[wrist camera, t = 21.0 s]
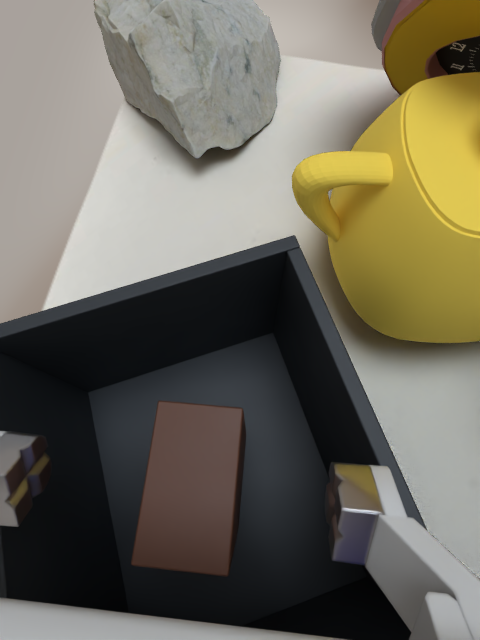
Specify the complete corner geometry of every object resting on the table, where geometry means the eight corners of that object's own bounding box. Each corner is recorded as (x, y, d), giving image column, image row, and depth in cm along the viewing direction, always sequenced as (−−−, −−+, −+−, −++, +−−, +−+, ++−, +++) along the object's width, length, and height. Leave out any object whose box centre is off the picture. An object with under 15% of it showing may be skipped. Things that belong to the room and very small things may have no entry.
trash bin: (378, 582, 20) (499, 689, 10) (133, 678, 19) (8, 902, 9) (278, 324, 26) (295, 234, 16) (81, 388, 24) (-35, 333, 15)
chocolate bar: (246, 433, 23) (243, 407, 13) (238, 528, 21) (228, 577, 12) (195, 428, 23) (157, 399, 13) (183, 523, 21) (129, 565, 12)
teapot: (607, 351, 24) (933, 243, 13) (286, 366, 24) (319, 273, 13) (538, 179, 29) (729, -13, 17) (272, 192, 29) (285, 11, 18)
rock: (329, 65, 34) (346, -48, 26) (211, 186, 30) (192, 95, 23) (199, 3, 38) (182, -110, 30) (81, 103, 34) (29, 2, 27)
